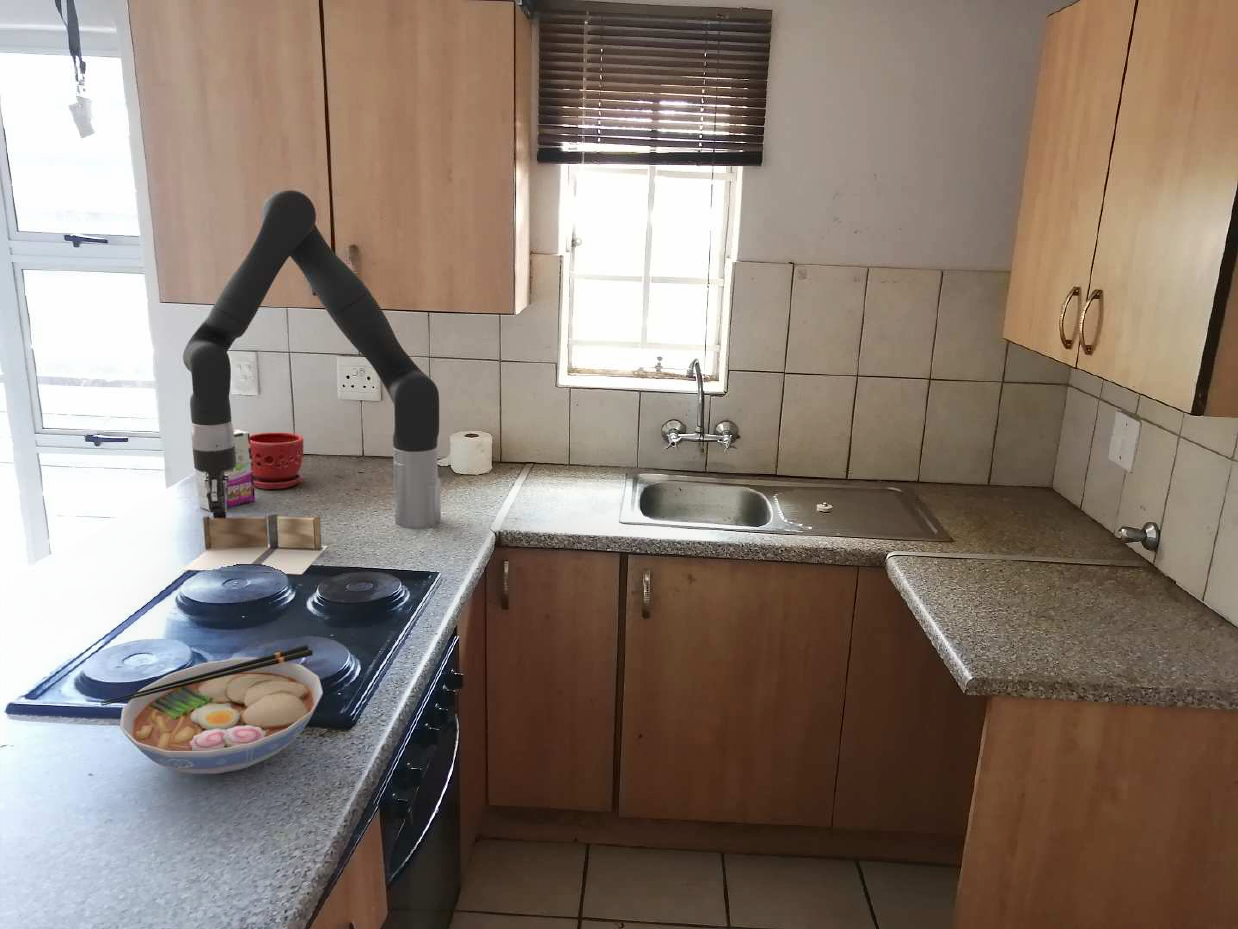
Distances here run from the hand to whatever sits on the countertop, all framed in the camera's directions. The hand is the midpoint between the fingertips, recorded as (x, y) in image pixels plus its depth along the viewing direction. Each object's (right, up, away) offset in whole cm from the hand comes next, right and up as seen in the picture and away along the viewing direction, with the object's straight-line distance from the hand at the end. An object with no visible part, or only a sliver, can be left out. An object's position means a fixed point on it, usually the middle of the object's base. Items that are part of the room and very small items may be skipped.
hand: (221, 528), depth 180 cm
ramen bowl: (+31, -23, -67) cm, 78 cm away
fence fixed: (+15, -4, 0) cm, 15 cm away
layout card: (+9, -6, -5) cm, 12 cm away
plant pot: (-5, +8, +43) cm, 44 cm away
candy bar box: (-10, +3, +26) cm, 28 cm away
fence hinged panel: (+4, -4, -1) cm, 5 cm away
